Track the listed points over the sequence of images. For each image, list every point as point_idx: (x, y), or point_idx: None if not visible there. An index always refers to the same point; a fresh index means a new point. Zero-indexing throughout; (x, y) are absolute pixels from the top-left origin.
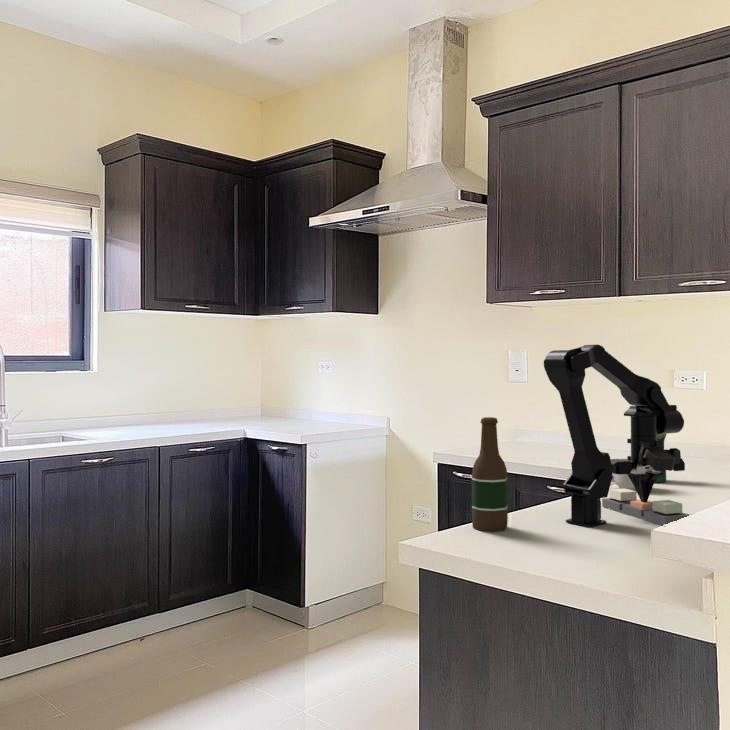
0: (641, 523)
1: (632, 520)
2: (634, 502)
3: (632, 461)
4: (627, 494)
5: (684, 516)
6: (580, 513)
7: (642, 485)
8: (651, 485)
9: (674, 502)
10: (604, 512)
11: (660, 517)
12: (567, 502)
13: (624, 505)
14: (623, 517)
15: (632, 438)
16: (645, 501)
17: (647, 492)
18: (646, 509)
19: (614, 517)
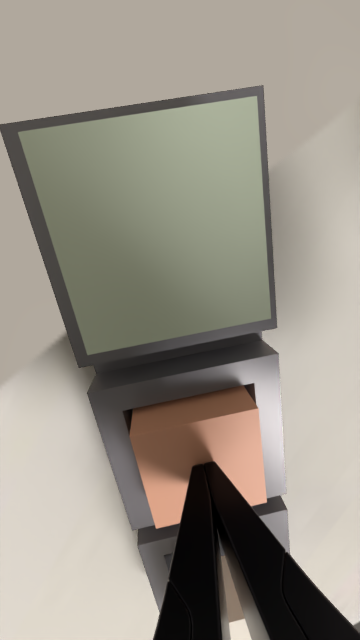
0: (312, 236)
1: (312, 312)
2: (263, 468)
3: None
4: (237, 597)
5: (73, 116)
6: None
7: (315, 601)
8: (182, 624)
9: (88, 213)
10: (326, 471)
11: (262, 145)
12: (345, 609)
13: (284, 477)
14: (311, 378)
15: None
16: (205, 464)
17: (210, 527)
18: (234, 370)
19: (349, 382)
